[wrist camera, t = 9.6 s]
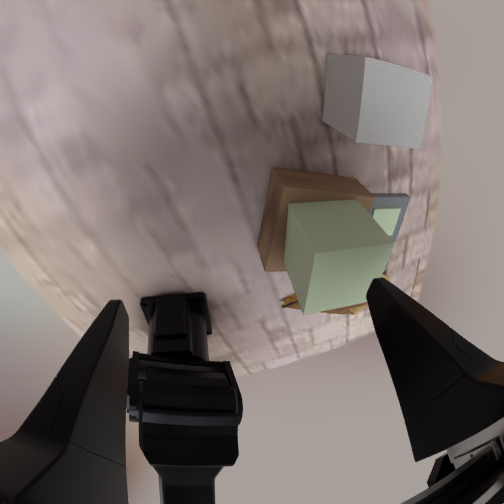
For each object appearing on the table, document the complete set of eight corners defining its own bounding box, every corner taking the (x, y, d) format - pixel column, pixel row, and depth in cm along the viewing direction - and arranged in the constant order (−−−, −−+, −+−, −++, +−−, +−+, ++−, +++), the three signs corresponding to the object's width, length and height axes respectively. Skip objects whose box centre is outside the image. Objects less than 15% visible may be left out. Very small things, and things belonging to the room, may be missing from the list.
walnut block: (329, 245, 25) (344, 270, 23) (256, 243, 24) (264, 271, 21) (353, 176, 21) (375, 197, 18) (271, 165, 19) (284, 186, 17)
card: (392, 237, 26) (397, 242, 25) (351, 241, 25) (355, 247, 24) (406, 194, 22) (411, 198, 22) (362, 194, 22) (367, 199, 21)
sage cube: (356, 199, 18) (394, 243, 14) (343, 254, 21) (371, 301, 18) (288, 203, 18) (315, 253, 14) (283, 262, 21) (303, 314, 17)
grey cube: (379, 126, 18) (420, 149, 14) (321, 120, 17) (355, 142, 14) (387, 66, 15) (432, 76, 11) (326, 54, 14) (365, 56, 10)
